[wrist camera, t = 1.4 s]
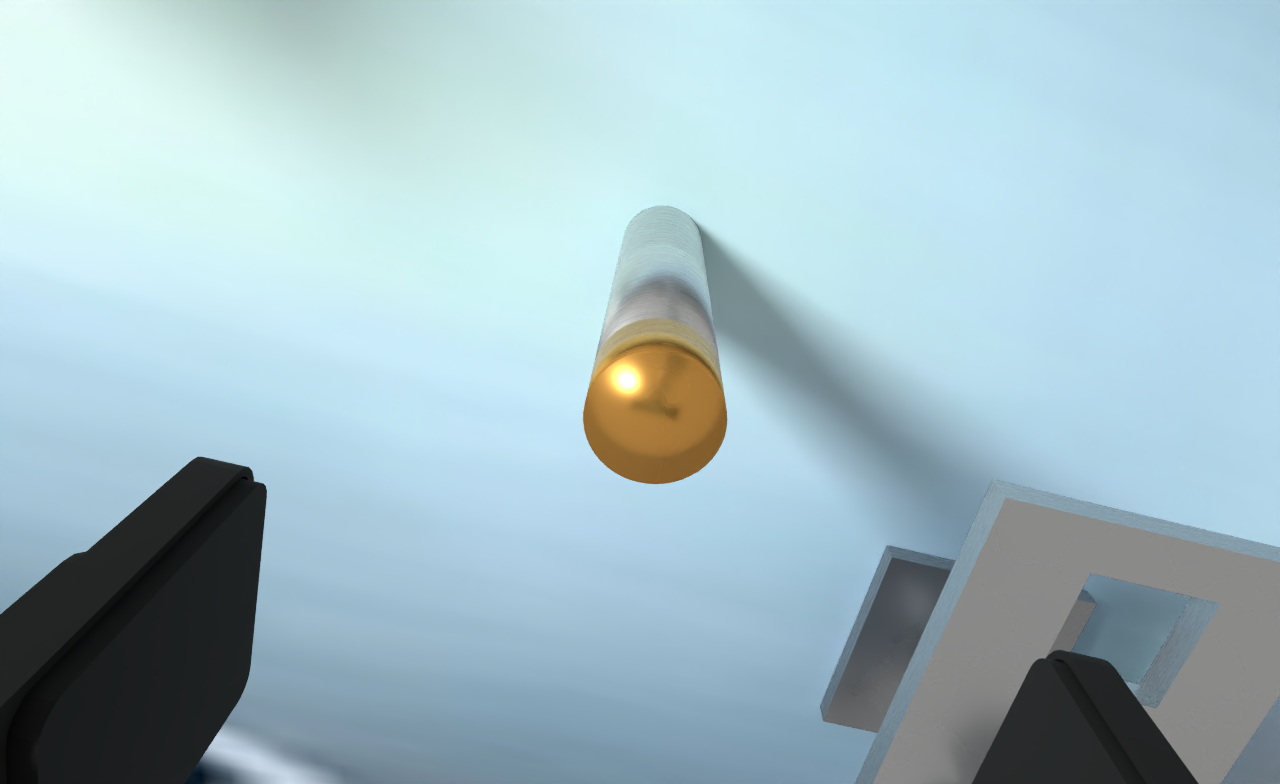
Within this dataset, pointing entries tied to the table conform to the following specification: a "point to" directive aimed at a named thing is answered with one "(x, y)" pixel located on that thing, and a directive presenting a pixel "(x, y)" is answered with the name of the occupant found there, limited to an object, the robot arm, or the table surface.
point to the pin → (657, 357)
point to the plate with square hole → (1053, 634)
